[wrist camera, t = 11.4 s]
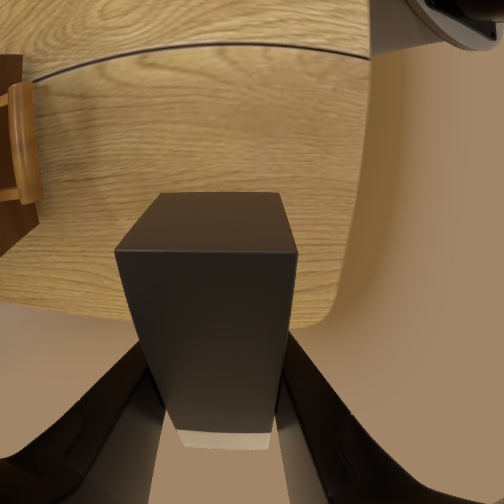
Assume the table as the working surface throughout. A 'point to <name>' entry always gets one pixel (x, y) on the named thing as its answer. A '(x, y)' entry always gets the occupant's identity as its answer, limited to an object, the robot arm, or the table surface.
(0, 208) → the drawer
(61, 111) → the table surface
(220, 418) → the black rubber eraser
